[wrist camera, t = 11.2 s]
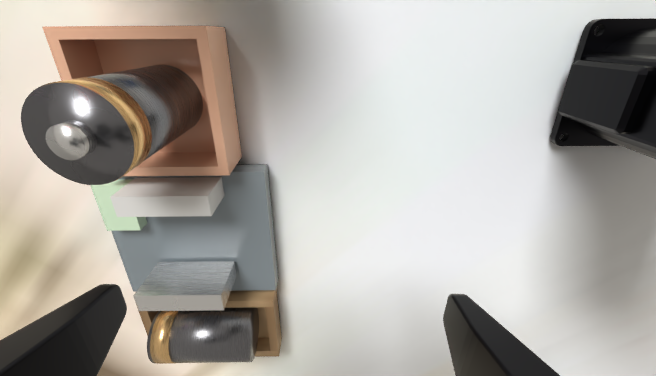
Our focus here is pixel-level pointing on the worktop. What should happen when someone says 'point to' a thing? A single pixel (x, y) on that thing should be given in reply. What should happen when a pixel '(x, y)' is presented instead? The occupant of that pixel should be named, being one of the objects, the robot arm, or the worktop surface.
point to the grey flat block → (194, 223)
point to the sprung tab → (187, 286)
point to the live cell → (204, 336)
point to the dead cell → (109, 120)
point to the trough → (267, 317)
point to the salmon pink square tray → (174, 50)
